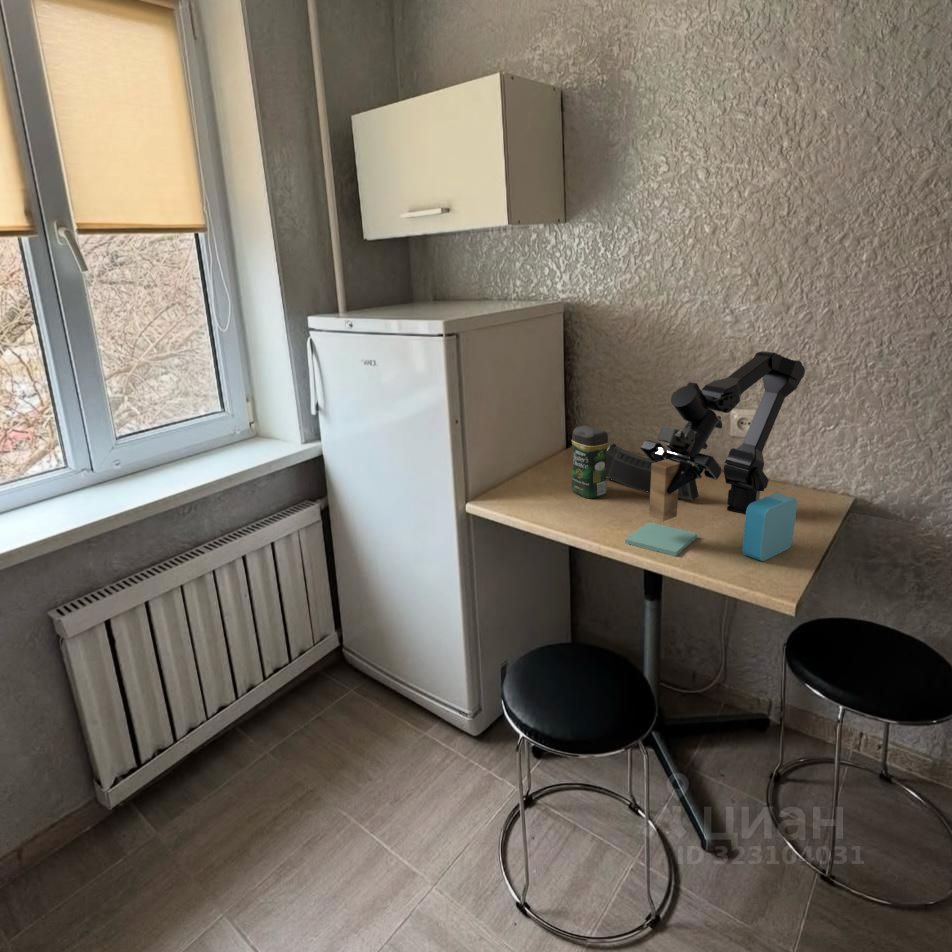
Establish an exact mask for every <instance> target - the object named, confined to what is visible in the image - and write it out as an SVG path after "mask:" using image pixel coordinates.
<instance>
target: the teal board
mask: <svg viewBox="0 0 952 952" xmlns="http://www.w3.org/2000/svg"><path fill="white" fill-rule="evenodd" d="M697 538H698V533H697V532H693V531H688V530H684V529H680V528H676V527H672V526H667V525H664V524H663V525H662V524H659V523H654V522H649V521H648V522H646V523H645V524H643V525H642V526H641V527H639V528H638V529H637V530H635V531H634V532H632V534H630V535H628V537H626V538H625V539H624V541H625V542H624V544H626V543H628V544H627V545H630V544H631V546H634V545H635V547H638V546H639V548H641V549H642V548H643V549H645V548H647V549H646V550H649V549H650V550H651V551H653V550H654V552H657V551H659V552H658V553H661V552H662V554H665V555H669V556H672V555H673V556H672V557H677V556H678V555H679V554H681V552H683V551H682V550H683V549H684V548H685V549H686V548H688V546H689V545H690V544H691V543H692V541H693V542H694V541H695V540H696V539H697ZM685 549H684V550H685ZM650 550H649V551H650Z"/></svg>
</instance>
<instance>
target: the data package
mask: <svg viewBox="0 0 952 952" xmlns="http://www.w3.org/2000/svg"><path fill="white" fill-rule="evenodd" d="M797 506H798V500H797V498H795V497H792V496H789V495H785V494H782V493H779V492H775V493H772V494H770V495H767V496H764V497H763V498H759V500H757V501H755V502H752V503H750V504H749V505H748V507H747V510H746V514H745V519H744V529H743V539H742V547H741V552H742V553H743V555H744V556H746V557H750V558H753V559H755V560H757V561H760V562H765V561H768V560H769V559H771V558H773V557H776V556H777V555H779V554H781V553H783V552H785V551H787V550H789V549H790V547H791V546H792V544H793V539H794V532H795V524H796V515H797V508H798V507H797Z"/></svg>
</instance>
